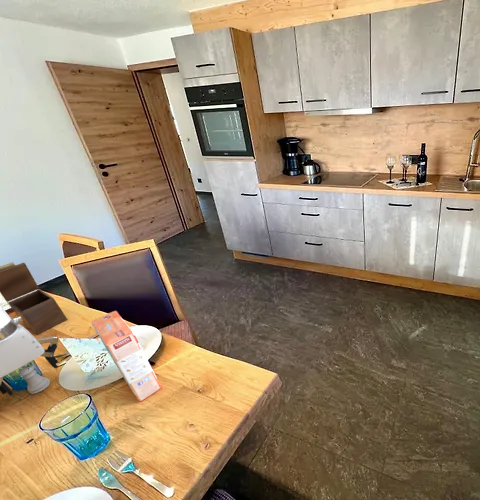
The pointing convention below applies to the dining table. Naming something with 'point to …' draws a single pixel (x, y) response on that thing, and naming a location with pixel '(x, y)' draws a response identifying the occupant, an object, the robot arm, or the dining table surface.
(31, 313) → the chest
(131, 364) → the cracker box
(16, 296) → the lid
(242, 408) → the dining table surface
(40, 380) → the rook chess piece
